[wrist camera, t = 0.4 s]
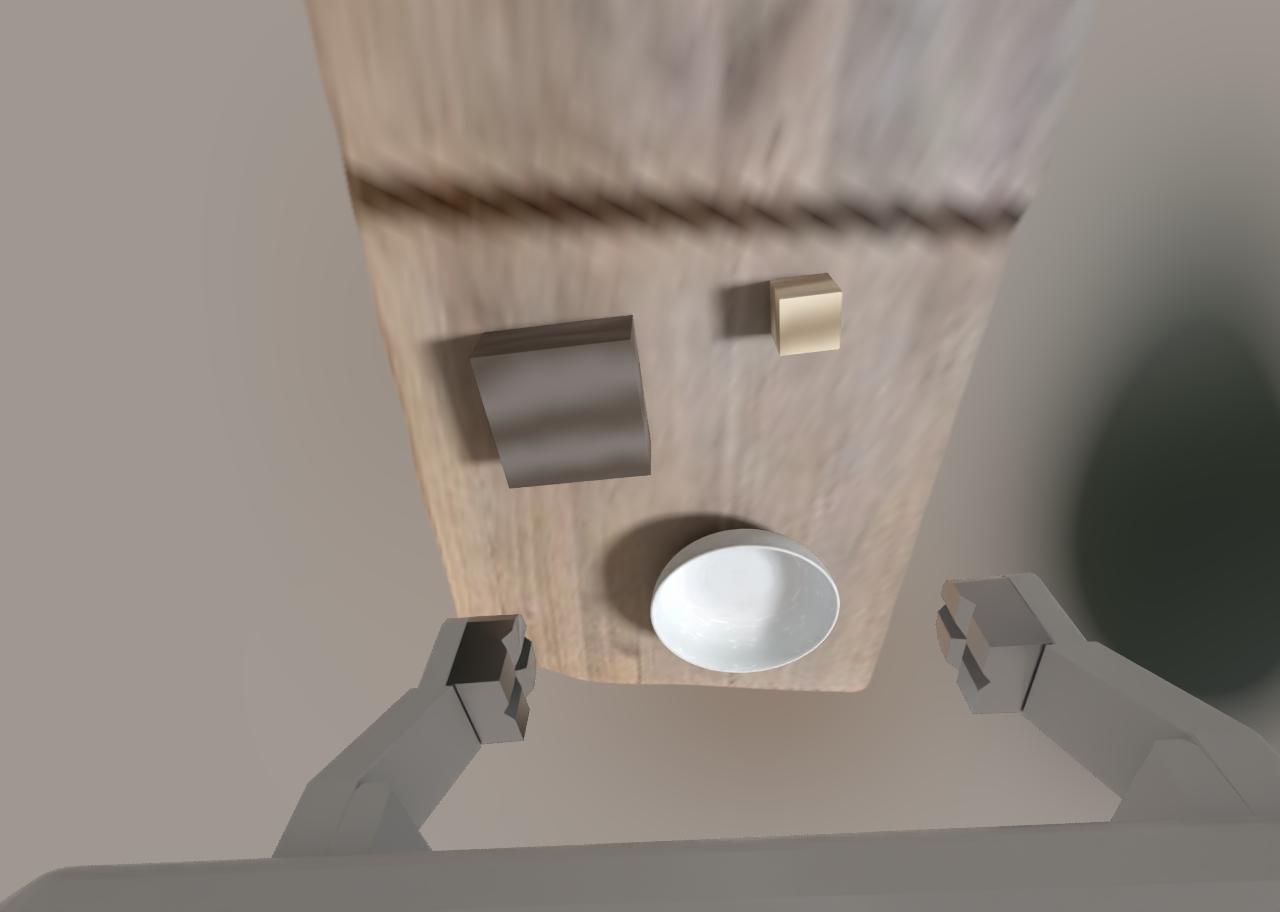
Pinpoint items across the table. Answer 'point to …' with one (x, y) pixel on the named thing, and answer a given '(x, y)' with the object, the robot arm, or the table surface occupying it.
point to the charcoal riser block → (565, 401)
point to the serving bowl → (743, 601)
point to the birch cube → (805, 314)
